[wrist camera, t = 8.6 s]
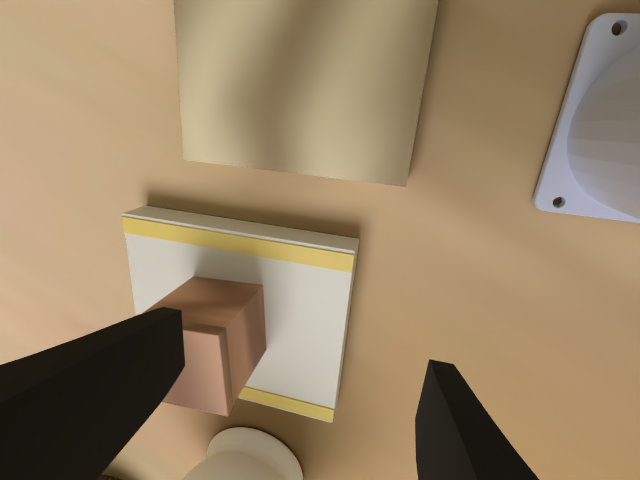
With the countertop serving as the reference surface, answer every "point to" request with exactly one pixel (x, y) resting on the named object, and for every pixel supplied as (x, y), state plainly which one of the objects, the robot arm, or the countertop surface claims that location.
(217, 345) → the brown cube
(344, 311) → the dock
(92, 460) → the robot arm
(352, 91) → the beige rectangular slab
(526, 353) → the countertop surface
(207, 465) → the jar
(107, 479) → the cupcake
